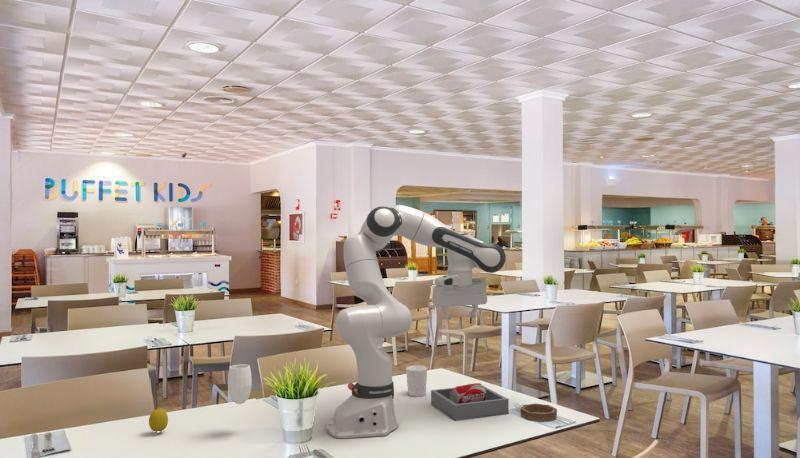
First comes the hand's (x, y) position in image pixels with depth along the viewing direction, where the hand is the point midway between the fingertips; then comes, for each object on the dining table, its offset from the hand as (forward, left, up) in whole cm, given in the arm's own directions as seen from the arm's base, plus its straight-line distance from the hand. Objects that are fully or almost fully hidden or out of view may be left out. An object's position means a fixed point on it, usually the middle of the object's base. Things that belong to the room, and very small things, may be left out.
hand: (460, 318), depth 214 cm
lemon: (-100, +9, -31) cm, 105 cm away
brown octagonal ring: (+19, -20, -31) cm, 42 cm away
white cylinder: (-9, +20, -31) cm, 38 cm away
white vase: (-76, 0, -31) cm, 82 cm away
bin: (+1, -4, -31) cm, 31 cm away
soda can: (+8, -2, -27) cm, 28 cm away
